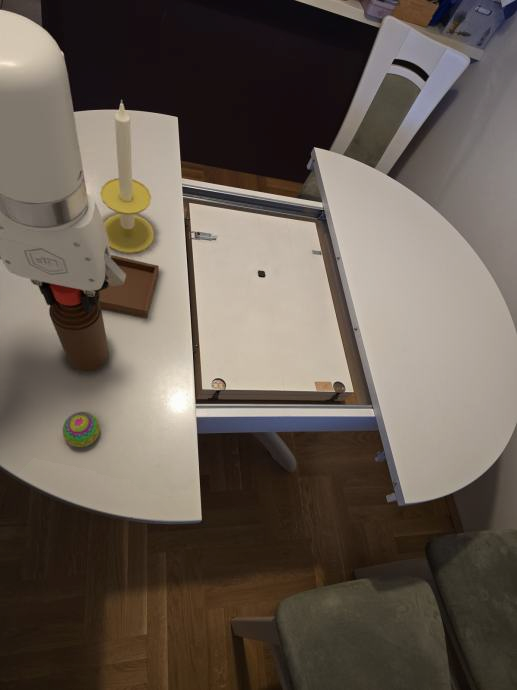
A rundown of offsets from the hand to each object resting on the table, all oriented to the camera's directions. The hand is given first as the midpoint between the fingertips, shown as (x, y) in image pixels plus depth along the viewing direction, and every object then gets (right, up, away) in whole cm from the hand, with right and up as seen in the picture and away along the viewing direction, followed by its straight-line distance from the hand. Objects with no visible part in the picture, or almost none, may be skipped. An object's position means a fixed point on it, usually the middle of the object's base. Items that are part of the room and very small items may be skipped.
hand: (72, 299), depth 50 cm
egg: (-3, -19, +9) cm, 21 cm away
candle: (-2, +16, +27) cm, 32 cm away
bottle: (-4, -7, +14) cm, 17 cm away
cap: (0, +1, -1) cm, 2 cm away
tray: (-2, +5, +21) cm, 22 cm away
